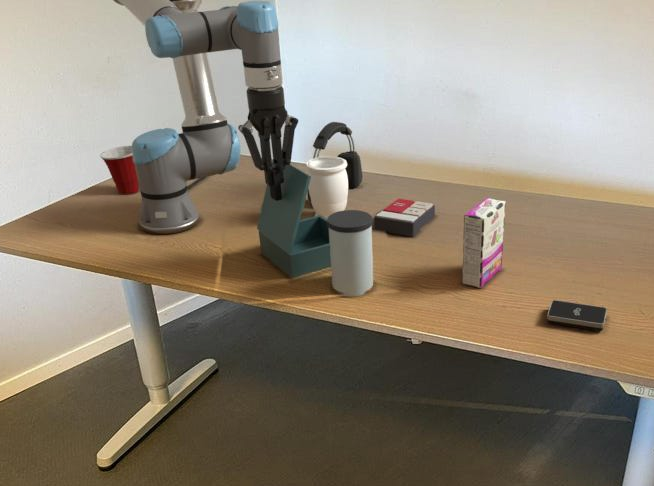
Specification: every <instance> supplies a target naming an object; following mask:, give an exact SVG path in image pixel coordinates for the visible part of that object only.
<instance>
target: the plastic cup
mask: <svg viewBox="0 0 654 486" xmlns="http://www.w3.org/2000/svg"><path fill="white" fill-rule="evenodd" d="M99 156H100V158H101V159H102V160H103V161H104V163H105V165H106V167H107V169H108V171H109V173H110V176H111V178H112V181H113V183H114V184H115V187H116V189H117V192H118V193H119V194H121V195H133V194H136V193H138V192H139V191H140V187H139V183H138V178H137V173H136V169H135V164H134V162H133V154H132V145H121V146H116V147H112V148H110V149H107V150H105V151H103V152H102V153H100V154H99Z"/></svg>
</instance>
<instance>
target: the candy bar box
mask: <svg viewBox="0 0 654 486" xmlns="http://www.w3.org/2000/svg"><path fill="white" fill-rule="evenodd" d="M506 202H507V201H506V200H502V199H496V198H492V197H485V198H484V199H482V201H480V202H478V204H476V205H475V206H474V207H472V208H471V209H470V210H468V211H467V212H466V213H464V215H463V238H462V239H463V242H462V245H463V246H462V247H463V248H462V275H461V277H462V278H461V279H462V281H461V283H462V284H463V285H466V286H469V287H473V288H474V287H475V288H478V289H482V288H483V287H484V286H485V285H487V284H488V282H489V281H490V280H491V279H492V278H493V277H495V275H496V274H498V273H499V272H500V271H501V270H503V269H502V268H503V250H504V235H505V220H506V219H505V218H506V205H507V204H506Z"/></svg>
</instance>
